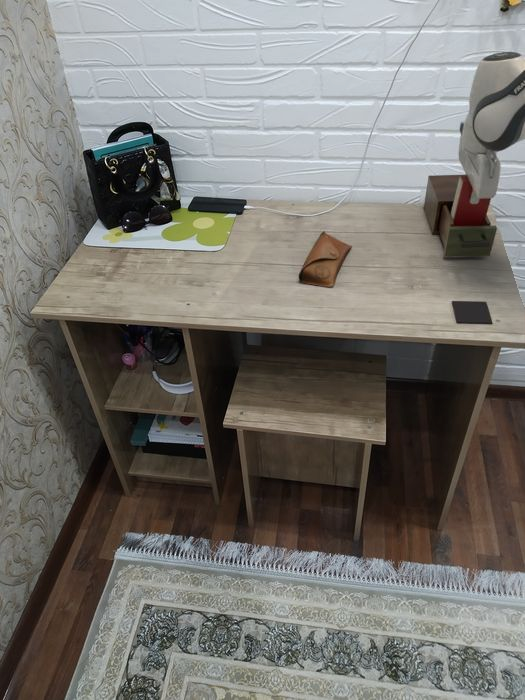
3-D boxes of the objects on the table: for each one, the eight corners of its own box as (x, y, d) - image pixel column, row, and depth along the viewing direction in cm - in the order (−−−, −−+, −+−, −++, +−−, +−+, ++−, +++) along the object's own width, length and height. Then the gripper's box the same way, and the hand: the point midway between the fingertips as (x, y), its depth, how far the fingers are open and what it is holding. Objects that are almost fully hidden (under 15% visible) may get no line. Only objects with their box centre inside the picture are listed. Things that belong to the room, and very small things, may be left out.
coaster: (485, 303, 121) (486, 301, 120) (492, 324, 115) (492, 322, 115) (451, 302, 121) (452, 300, 121) (456, 323, 116) (457, 321, 116)
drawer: (494, 266, 129) (502, 238, 124) (447, 267, 129) (453, 239, 124) (477, 227, 141) (483, 201, 136) (434, 228, 142) (439, 202, 137)
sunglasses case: (335, 286, 126) (320, 262, 124) (308, 295, 131) (294, 272, 128) (353, 244, 139) (340, 222, 136) (328, 253, 143) (315, 232, 140)
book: (475, 234, 137) (492, 175, 126) (478, 241, 134) (496, 181, 124) (445, 234, 137) (459, 175, 127) (447, 240, 135) (462, 181, 124)
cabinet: (480, 233, 141) (488, 200, 134) (432, 234, 141) (438, 201, 135) (468, 206, 151) (475, 174, 144) (423, 207, 151) (428, 175, 145)
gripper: (513, 157, 111) (497, 220, 121) (487, 118, 126) (475, 177, 136) (480, 158, 112) (467, 221, 121) (458, 119, 127) (448, 177, 136)
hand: (471, 197), depth 129 cm, fingers closed on book, 3 cm apart
